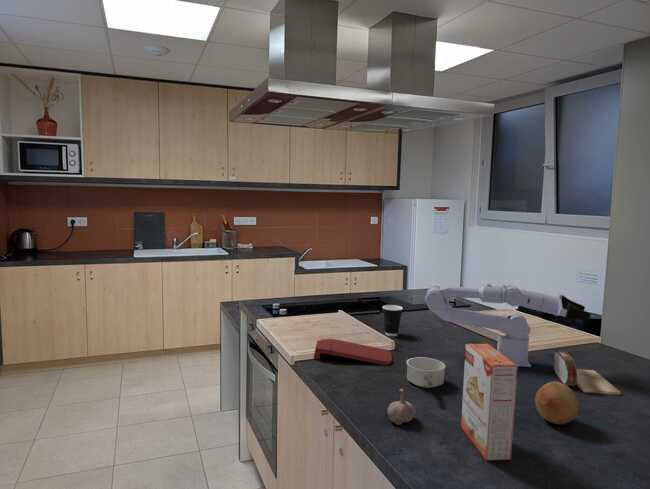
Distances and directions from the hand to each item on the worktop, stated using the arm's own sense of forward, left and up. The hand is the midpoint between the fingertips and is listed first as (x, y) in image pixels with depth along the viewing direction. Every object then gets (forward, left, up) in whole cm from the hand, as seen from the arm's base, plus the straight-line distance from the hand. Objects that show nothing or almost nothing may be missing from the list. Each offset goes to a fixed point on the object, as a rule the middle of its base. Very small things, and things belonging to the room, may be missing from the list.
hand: (586, 313), depth 148 cm
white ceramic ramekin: (-52, -24, -19) cm, 60 cm away
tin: (-9, -10, -19) cm, 24 cm away
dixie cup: (-61, +26, -19) cm, 69 cm away
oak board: (-2, -10, -19) cm, 21 cm away
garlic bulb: (-60, -45, -19) cm, 77 cm away
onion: (-22, -39, -19) cm, 48 cm away
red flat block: (-74, -3, -20) cm, 77 cm away
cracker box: (-42, -53, -19) cm, 70 cm away
